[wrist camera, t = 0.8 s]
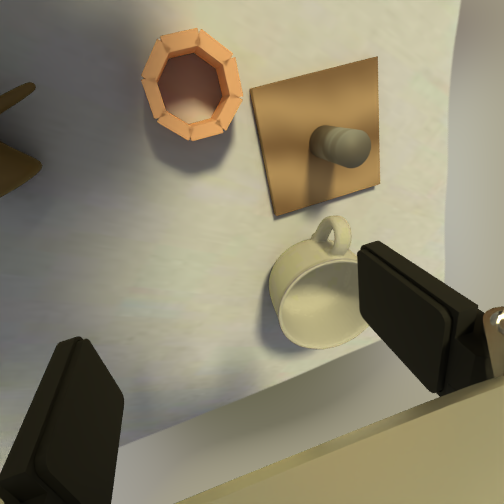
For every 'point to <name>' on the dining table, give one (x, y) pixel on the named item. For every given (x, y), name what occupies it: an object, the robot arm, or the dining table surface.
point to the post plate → (301, 118)
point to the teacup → (318, 289)
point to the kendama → (9, 159)
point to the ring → (212, 55)
